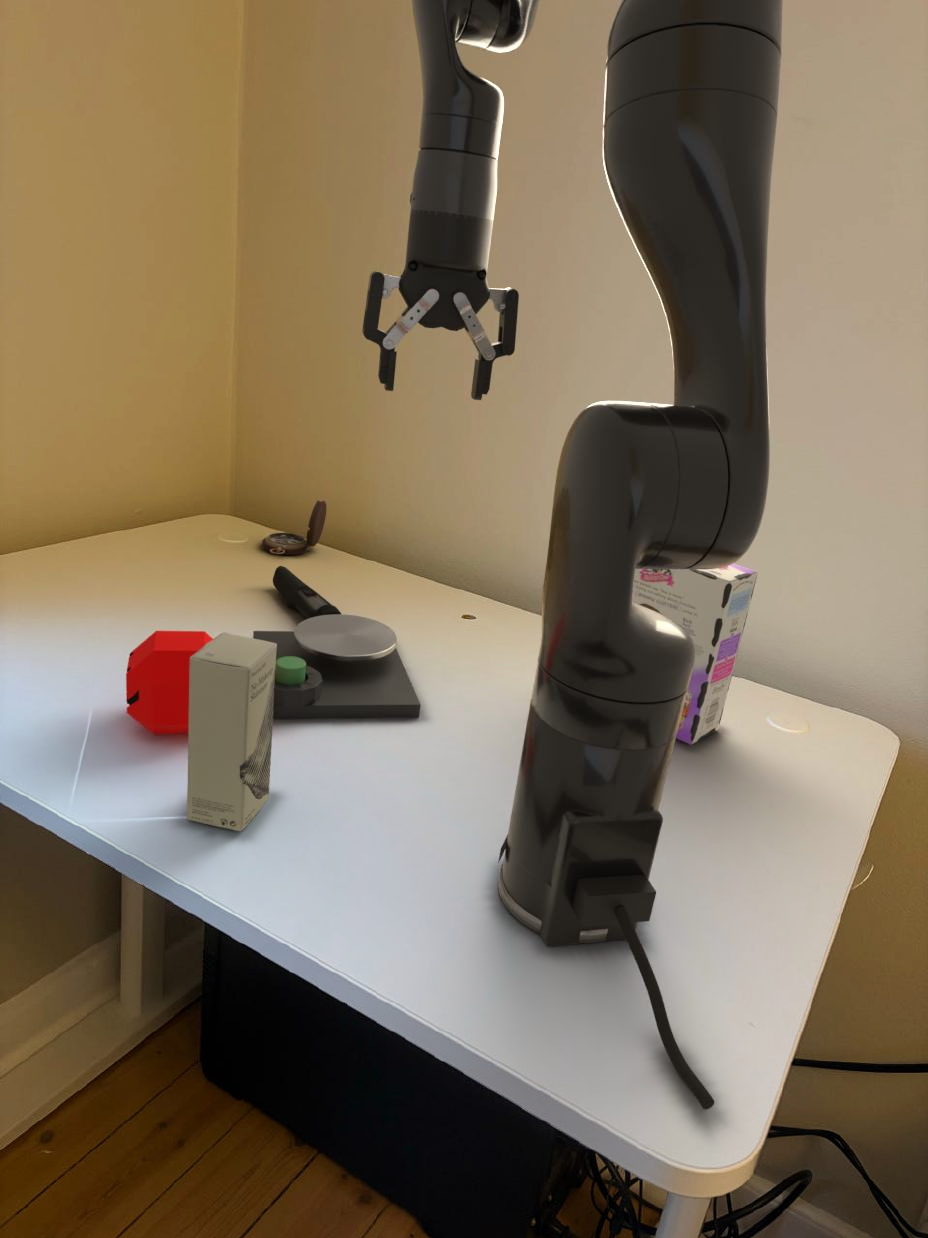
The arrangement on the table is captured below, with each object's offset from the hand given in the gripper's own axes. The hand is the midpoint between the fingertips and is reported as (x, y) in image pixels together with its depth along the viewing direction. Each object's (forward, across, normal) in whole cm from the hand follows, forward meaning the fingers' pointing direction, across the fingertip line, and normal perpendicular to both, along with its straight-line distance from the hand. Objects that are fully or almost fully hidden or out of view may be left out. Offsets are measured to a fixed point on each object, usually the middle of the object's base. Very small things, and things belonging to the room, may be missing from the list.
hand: (433, 394), depth 88 cm
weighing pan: (+24, -7, -6) cm, 25 cm away
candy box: (+27, +22, -13) cm, 37 cm away
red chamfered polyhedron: (+27, -21, -18) cm, 39 cm away
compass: (+26, -13, +28) cm, 40 cm away
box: (+27, -16, -30) cm, 44 cm away
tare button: (+24, -12, -15) cm, 31 cm away
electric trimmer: (+26, -11, +7) cm, 29 cm away
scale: (+26, -8, -9) cm, 29 cm away
